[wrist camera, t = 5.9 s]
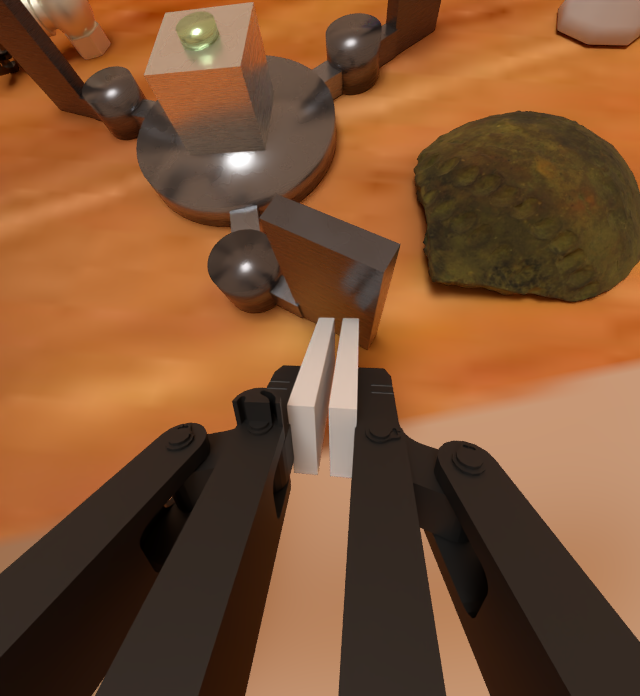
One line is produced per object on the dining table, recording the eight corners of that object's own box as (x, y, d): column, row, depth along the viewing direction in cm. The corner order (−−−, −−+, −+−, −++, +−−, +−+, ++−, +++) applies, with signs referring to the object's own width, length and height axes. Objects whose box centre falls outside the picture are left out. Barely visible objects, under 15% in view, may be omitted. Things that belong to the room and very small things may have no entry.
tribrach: (-7, 260, 23) (-219, 159, 14) (82, 60, 30) (-26, -88, 21) (454, 255, 19) (542, 107, 10) (434, 23, 26) (476, -180, 17)
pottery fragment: (596, 131, 21) (656, 58, 17) (646, 307, 17) (740, 267, 13) (408, 140, 23) (421, 76, 19) (412, 303, 19) (430, 266, 14)
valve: (114, 27, 31) (15, 54, 32) (55, -74, 25) (-67, -38, 26) (112, 63, 29) (7, 92, 30) (48, -36, 23) (-84, 2, 24)
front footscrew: (216, 296, 20) (113, 193, 11) (250, 248, 21) (179, 120, 12) (355, 371, 17) (360, 313, 9) (387, 313, 18) (421, 208, 10)
